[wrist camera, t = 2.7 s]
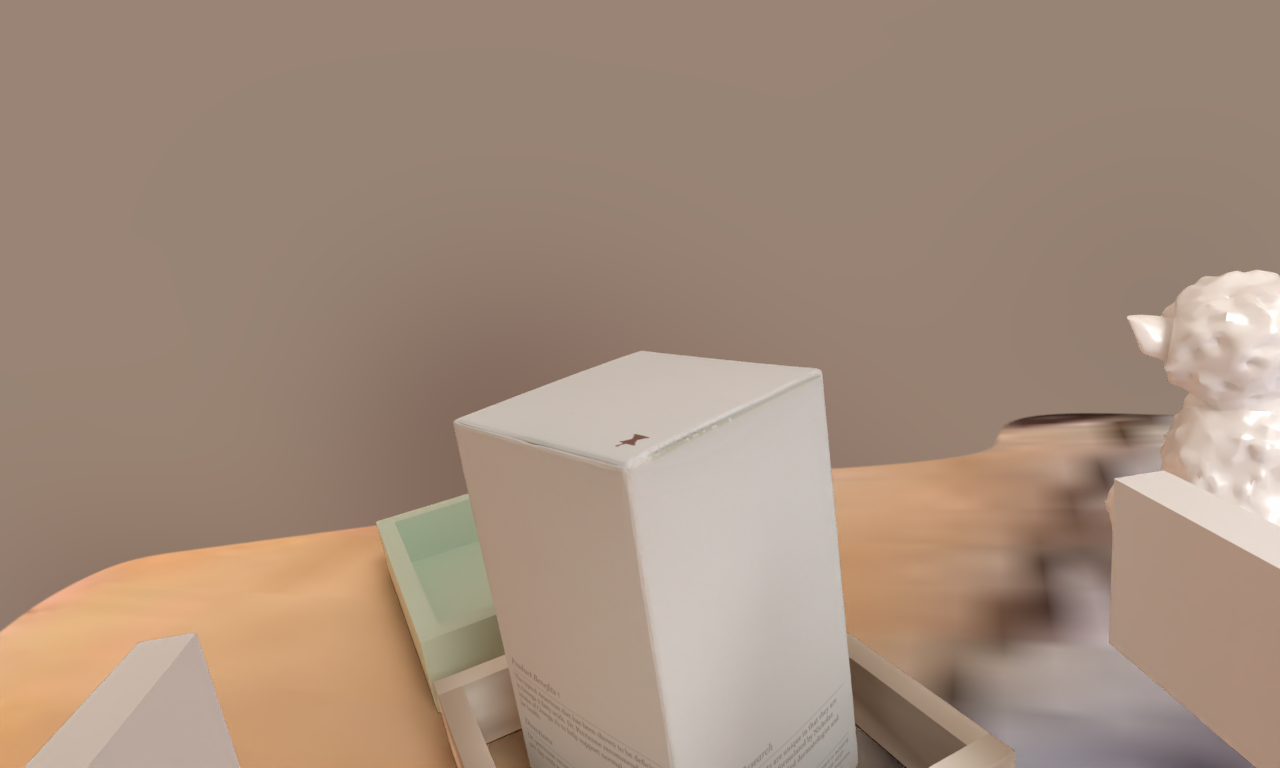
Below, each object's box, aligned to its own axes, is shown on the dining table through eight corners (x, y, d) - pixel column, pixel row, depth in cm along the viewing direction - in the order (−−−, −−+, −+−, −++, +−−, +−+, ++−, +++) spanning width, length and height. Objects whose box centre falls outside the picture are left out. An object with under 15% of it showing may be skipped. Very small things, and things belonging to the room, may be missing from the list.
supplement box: (867, 767, 23) (836, 364, 20) (698, 948, 19) (619, 466, 15) (692, 672, 29) (643, 343, 25) (528, 795, 24) (442, 414, 21)
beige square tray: (753, 614, 32) (746, 560, 31) (1016, 828, 21) (1015, 751, 20) (448, 743, 27) (433, 682, 26) (577, 1111, 16) (557, 1022, 15)
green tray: (612, 500, 45) (604, 452, 44) (728, 594, 33) (720, 531, 33) (389, 574, 40) (375, 521, 39) (438, 713, 29) (420, 642, 28)
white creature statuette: (1396, 552, 30) (1439, 237, 26) (1426, 683, 23) (1486, 291, 20) (1110, 511, 36) (1116, 250, 32) (1072, 608, 29) (1074, 295, 26)
